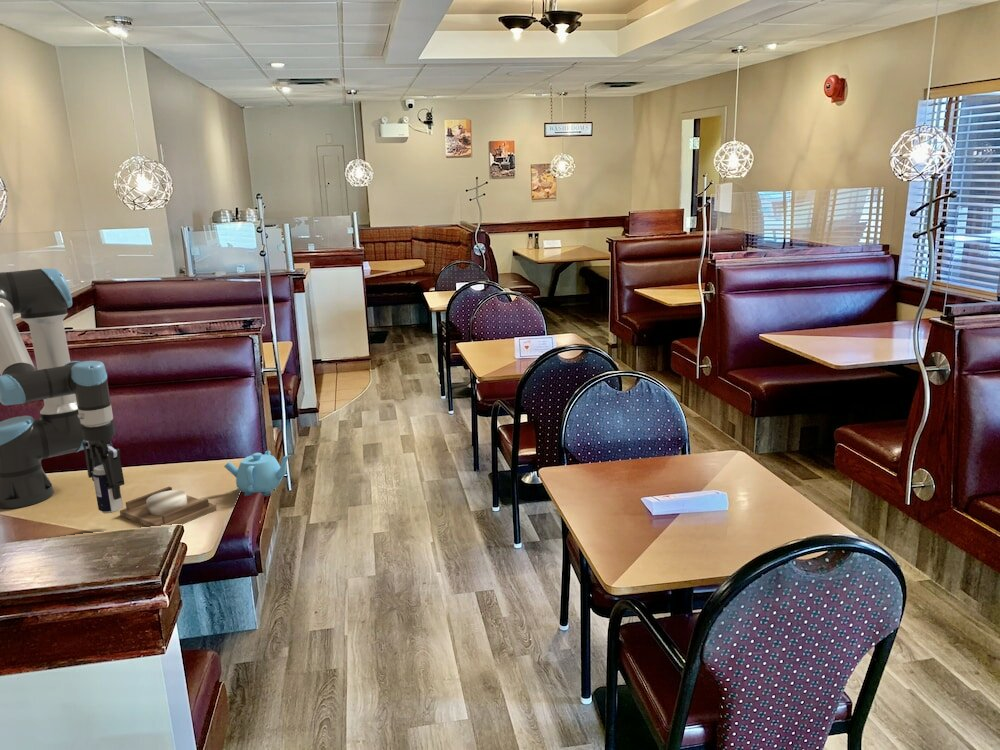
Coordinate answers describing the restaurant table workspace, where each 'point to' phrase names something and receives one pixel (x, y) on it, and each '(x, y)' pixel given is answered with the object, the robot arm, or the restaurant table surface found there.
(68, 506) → the restaurant table surface
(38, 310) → the robot arm
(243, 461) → the teapot
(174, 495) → the brown wooden tray
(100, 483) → the beverage can
